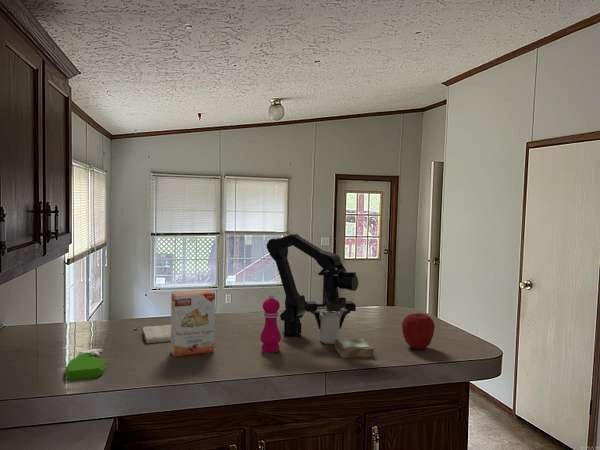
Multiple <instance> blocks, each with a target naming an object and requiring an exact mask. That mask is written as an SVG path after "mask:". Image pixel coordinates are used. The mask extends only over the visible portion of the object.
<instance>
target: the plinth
mask: <svg viewBox="0 0 600 450" xmlns="http://www.w3.org/2000/svg"><path fill="white" fill-rule="evenodd" d="M334 350H336V352H337V353H338V354H339V355H340V357H341V358H342V359H344V358H345V359H347V358H348V359H349V358H350V359H351V358H354V359H355V358H374V347H373V346H372V345H371V344H370V343H369V342H368V341H367V340H366V339H365V338H357V339H356V338H354V339H352V338H351V339H350V338H349V339H347V338H346V339H339V340H335V344H334Z"/></svg>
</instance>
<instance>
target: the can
mask: <svg viewBox="0 0 600 450" xmlns="http://www.w3.org/2000/svg"><path fill="white" fill-rule="evenodd" d="M339 327H340V315H339V312H337V311H332V312H329V311H328V310H327V309H321V312H320V329H319V341H321V343H322V344H324V345H335V340H340V329H339Z"/></svg>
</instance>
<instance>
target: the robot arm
mask: <svg viewBox="0 0 600 450" xmlns="http://www.w3.org/2000/svg"><path fill="white" fill-rule="evenodd" d="M292 246H293V247H294V248H296V249H297V250H299V251H301V252H302V253H304V254H306V255H308V256H309V257H310V258H312V259H313V260H315V261H316V263H317V265H318V266H319V267H321V268H322V269H321V270H320V272H318V273H317V275H318V276H322V302H321V303H317V302H316V301H315V300H314V301H312V300H311V301H309V300H307V301H306V298H305V295H304V294H302V295H300V293H299V292H298V290H297V289H298V288H297V286H296V283H295V280H294V275H293V274H292V270H291V269H292V268H291V266H290V263H289V260H288V255H289V248H290V247H292ZM266 249H267V251H268V253H269V256H270V257H271V258H272V259H273V260H274V262H275V265H276V268H277V270H278V273H279V277H280V281H281V284H282V288H283V291H284V294H285V300H284V307H285V309H284V311H282V313H281V314H280V315H279V317H280V320H281V321H283V322H282V323H283V327H282V328H283V330H282V335H283V337H301V336H302V322H301V318H303V316H304V314H305V313H306V312H307V313H309V312H310V313H311V314H313V315H314V319H315V321H316V326H317V328H318V330H320V314H321V312H320V311H319V310H325V309H327V310H328V311H329V312H332V311H337V312H338V314H339V315H340V327H339V330H340V329H342V326H343V323H344V321H345V318H346V317H347V315H349V314H351V312H356V310H357V305H356V303H354V302H353V300H347V298H346V297H340V296H339V289H340V290H343V291H344V290H345V291H353V292H355V291H357V290H358V288H359V282H360V281H359V279H358V276H357V272H356V271H347V270H346V267H345V266H344V265H343V263H342V261H341V257H340V255H338V254H336V253H334V252H330V251H327V250H324V249H321V248H320V247H318V246H316V245H315V244H313V243H311V242H309V241H308V240H306V239H305V238H303V237H302V236H300V235H299V234H298V233H293V234H292V233H291V234H289V235H287V236H283V237H277V238H271V239H269V240H267V243H266Z"/></svg>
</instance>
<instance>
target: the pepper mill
mask: <svg viewBox="0 0 600 450" xmlns="http://www.w3.org/2000/svg"><path fill="white" fill-rule="evenodd" d="M274 297H275V296H274V294H272V293H270V294H269V296H268V298H266V299H265V300H264V301H263V303H262V309H263V312H264V313H263V314H264V315H263V317H264V326H263V328H262V331H261V333H260V342H261V343H262V345H261V351H262V352H263V353H268V354H271V353H272V354H274V353H277V352H279V351H280V345H279V343H280V341H281V339H282V335H281V332H280V329H279V327H278V324H277V323H278V322H277V321H278V320H277V319H278V317H279V312H278V311H279V310H280V307H281V305H280V302H279V300H278V299H276V298H274Z"/></svg>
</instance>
